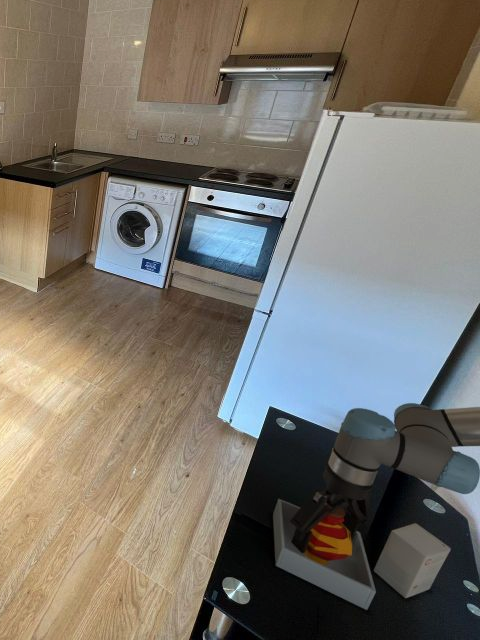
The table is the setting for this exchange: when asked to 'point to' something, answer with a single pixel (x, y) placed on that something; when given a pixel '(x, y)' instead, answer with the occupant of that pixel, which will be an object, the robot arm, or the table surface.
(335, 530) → the potion bottle
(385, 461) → the robot arm
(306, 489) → the table surface
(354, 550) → the gray square tray
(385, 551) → the small box
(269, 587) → the table surface
